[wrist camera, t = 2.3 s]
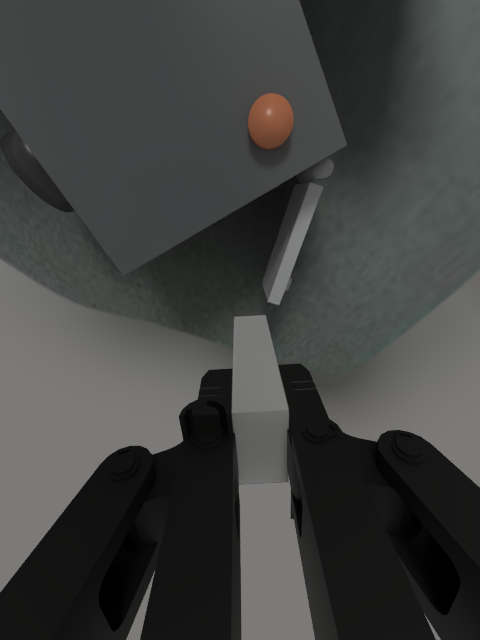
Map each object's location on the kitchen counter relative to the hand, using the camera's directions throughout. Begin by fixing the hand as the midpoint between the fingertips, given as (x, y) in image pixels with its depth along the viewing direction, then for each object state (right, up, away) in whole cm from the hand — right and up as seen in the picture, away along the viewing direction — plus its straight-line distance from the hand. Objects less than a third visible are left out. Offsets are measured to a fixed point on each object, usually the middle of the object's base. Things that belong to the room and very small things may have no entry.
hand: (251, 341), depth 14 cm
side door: (+4, +8, +12) cm, 15 cm away
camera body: (-6, +16, +10) cm, 20 cm away
